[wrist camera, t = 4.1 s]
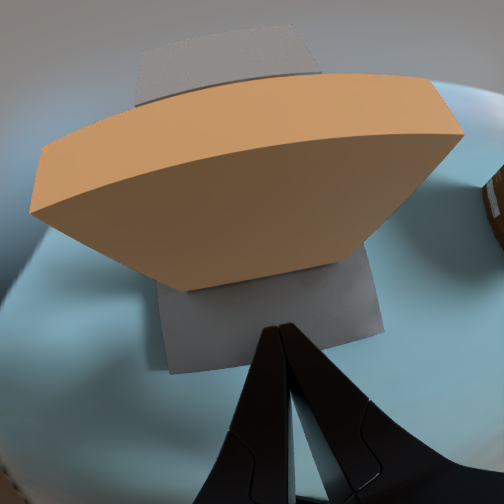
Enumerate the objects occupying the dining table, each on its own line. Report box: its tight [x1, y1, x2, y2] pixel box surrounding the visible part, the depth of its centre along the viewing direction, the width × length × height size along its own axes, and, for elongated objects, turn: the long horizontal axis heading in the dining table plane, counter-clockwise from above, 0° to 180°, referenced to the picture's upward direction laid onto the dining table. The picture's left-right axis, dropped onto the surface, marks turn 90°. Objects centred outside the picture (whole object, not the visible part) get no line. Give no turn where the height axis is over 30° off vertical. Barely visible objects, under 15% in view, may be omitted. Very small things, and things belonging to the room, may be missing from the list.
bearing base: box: [135, 25, 384, 375], centre depth 12 cm, size 14×11×8 cm
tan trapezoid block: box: [30, 74, 465, 292], centre depth 9 cm, size 6×8×10 cm
